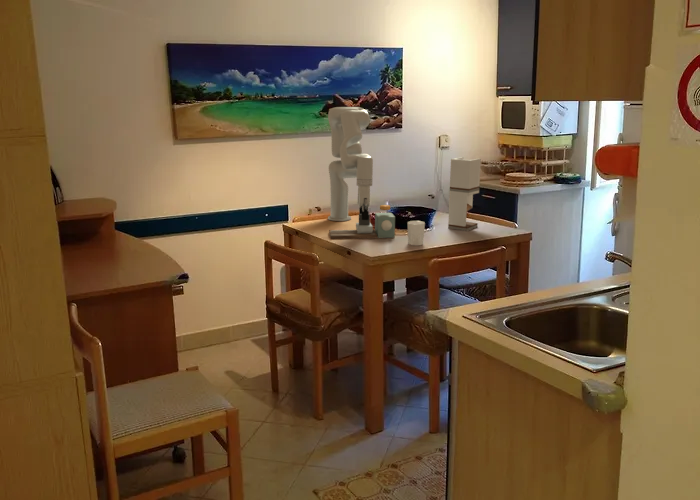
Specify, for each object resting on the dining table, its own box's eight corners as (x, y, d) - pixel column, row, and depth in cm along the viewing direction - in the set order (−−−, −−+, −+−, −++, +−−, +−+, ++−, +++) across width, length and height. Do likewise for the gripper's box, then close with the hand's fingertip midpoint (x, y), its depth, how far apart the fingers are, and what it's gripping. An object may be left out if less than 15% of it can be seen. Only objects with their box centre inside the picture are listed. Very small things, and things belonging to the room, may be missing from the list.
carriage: (355, 230, 323) (356, 212, 321) (370, 229, 323) (370, 212, 321) (357, 234, 314) (358, 216, 312) (372, 233, 315) (372, 216, 313)
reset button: (379, 208, 319) (379, 204, 319) (389, 208, 320) (389, 204, 319) (380, 210, 314) (380, 206, 314) (391, 210, 315) (391, 206, 315)
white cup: (410, 246, 298) (411, 224, 296) (404, 242, 306) (405, 221, 303) (426, 245, 300) (427, 223, 298) (420, 241, 308) (421, 220, 305)
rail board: (329, 233, 323) (329, 228, 323) (373, 232, 326) (373, 227, 325) (330, 238, 312) (330, 233, 311) (377, 238, 314) (377, 232, 313)
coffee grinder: (466, 230, 330) (470, 160, 322) (448, 228, 337) (450, 159, 328) (477, 227, 339) (480, 158, 331) (458, 224, 345) (461, 157, 337)
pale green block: (374, 232, 325) (375, 212, 323) (390, 232, 326) (391, 212, 323) (378, 238, 314) (378, 217, 312) (394, 237, 315) (395, 217, 312)
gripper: (354, 179, 321) (354, 213, 326) (358, 185, 304) (358, 221, 309) (370, 179, 322) (369, 213, 326) (374, 185, 305) (374, 221, 310)
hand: (363, 217), depth 318 cm, fingers open, 9 cm apart
